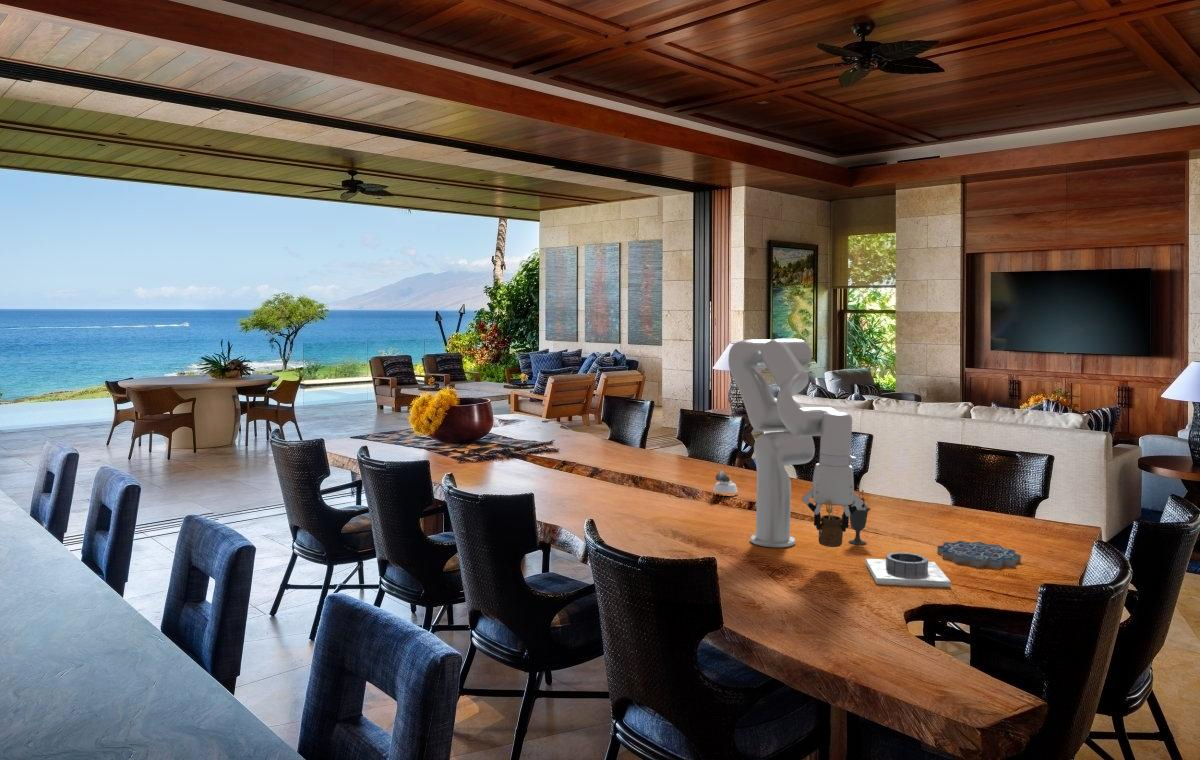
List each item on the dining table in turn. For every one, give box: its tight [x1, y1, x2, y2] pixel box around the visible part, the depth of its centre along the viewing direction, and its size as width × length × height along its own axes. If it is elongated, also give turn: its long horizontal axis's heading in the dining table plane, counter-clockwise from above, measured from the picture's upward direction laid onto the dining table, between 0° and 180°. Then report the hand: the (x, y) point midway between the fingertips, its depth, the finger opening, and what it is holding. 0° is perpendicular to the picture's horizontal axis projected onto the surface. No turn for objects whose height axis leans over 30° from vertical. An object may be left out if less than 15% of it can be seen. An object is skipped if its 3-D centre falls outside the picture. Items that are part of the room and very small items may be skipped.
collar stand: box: [865, 551, 952, 589], centre depth 212 cm, size 17×17×4 cm
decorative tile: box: [936, 540, 1022, 570], centre depth 229 cm, size 20×20×2 cm
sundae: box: [848, 490, 871, 546], centre depth 243 cm, size 7×7×15 cm
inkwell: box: [713, 470, 738, 493], centre depth 305 cm, size 9×18×10 cm, turn 165°
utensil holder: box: [818, 501, 844, 548], centre depth 218 cm, size 6×6×12 cm
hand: (830, 528), depth 218 cm, fingers closed on utensil holder, 5 cm apart
